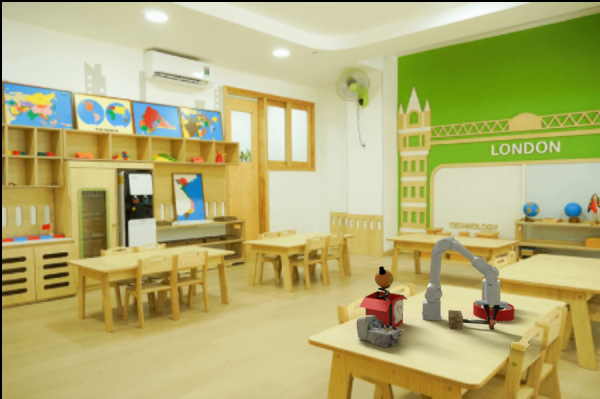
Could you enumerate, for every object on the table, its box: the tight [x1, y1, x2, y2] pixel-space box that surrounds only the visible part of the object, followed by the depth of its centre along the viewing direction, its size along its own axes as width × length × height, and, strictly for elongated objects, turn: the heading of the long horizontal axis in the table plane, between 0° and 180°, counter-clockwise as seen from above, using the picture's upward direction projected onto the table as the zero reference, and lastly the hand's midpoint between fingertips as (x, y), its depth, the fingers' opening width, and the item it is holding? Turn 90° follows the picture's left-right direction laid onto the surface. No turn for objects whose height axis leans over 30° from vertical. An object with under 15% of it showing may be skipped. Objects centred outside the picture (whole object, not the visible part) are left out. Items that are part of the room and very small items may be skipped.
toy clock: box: [472, 301, 515, 322], centre depth 232 cm, size 20×6×20 cm
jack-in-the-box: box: [358, 266, 408, 327], centre depth 218 cm, size 26×16×30 cm, turn 143°
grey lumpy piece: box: [356, 314, 404, 348], centre depth 196 cm, size 13×11×20 cm
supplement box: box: [481, 277, 501, 301], centre depth 250 cm, size 9×9×15 cm
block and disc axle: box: [463, 317, 497, 330], centre depth 212 cm, size 15×6×6 cm, turn 75°
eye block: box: [447, 309, 464, 331], centre depth 215 cm, size 6×10×6 cm, turn 165°
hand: (491, 320), depth 211 cm, fingers closed on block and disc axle, 2 cm apart
